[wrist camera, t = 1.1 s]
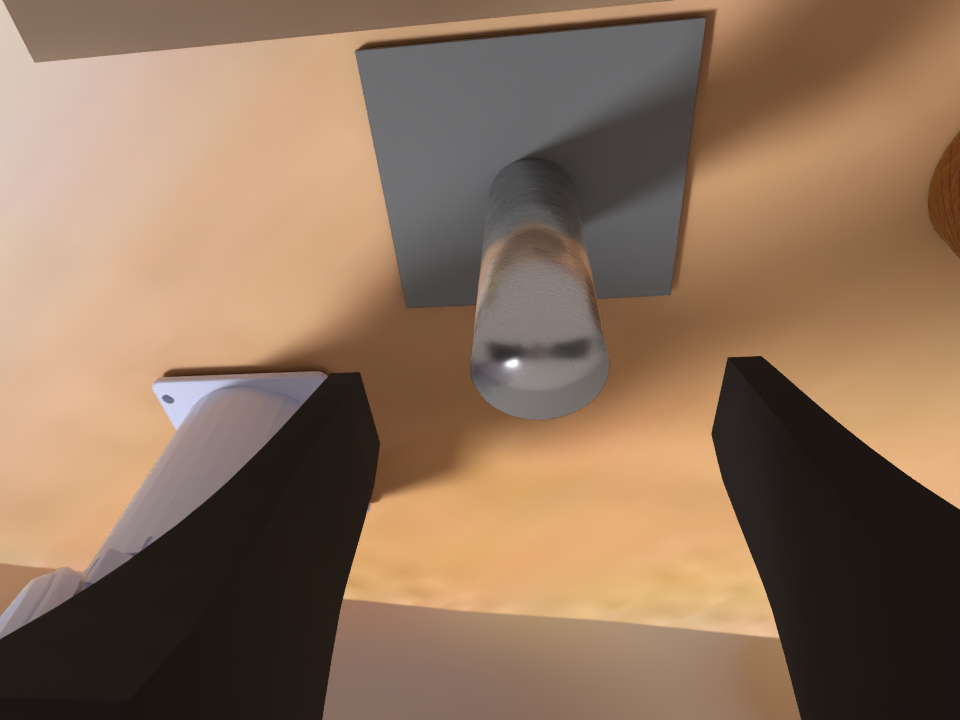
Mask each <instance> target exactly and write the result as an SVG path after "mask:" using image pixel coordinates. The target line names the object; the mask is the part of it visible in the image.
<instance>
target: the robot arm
mask: <svg viewBox="0 0 960 720" xmlns="http://www.w3.org/2000/svg"><path fill="white" fill-rule="evenodd" d="M152 388H153V391H154V393H155V394H156V396H157V398H158V400H159V401H160V403H161V405H162V406H163V408H164V410H165V412H166V413H167V415H168V417H169V418H170V420H171V422H172V424H173V425H174V427H175V429H176V430H177V431H176V432H175V434H174V435H173V437H172V438H171V440H170V442H169V443H168V445H167V446H166V448H165V449H164V451H163V452H162V454H161V455H160V457H159V459H158V460H157V462H156V463H155V465H154V466H153V468H152V469H151V471H150V473H149V474H148V476H147V477H146V479H145V480H144V482H143V483H142V485H141V486H140V488H139V490H138V491H137V493H136V494H135V496H134V497H133V499H132V500H131V502H130V503H129V505H128V507H127V508H126V510H125V511H124V513H123V514H122V516H121V517H120V519H119V520H118V522H117V524H116V525H115V527H114V528H113V530H112V531H111V533H110V534H109V536H108V537H107V539H106V541H105V542H104V544H103V545H102V547H101V548H100V550H99V551H98V553H97V555H96V556H95V558H94V559H93V561H92V562H91V564H90V565H89V567H88V568H87V569H86V570H85V571H84V572H83V573H82V574H80V573H78V572H76V571H75V570H73V569H71V568H69V567H62V568H59V569H58V570H56V571H55V572H54V573H48V574H45V575H42V576H39V577H36V578H34V579H32V580H31V581H30V582H29V583H28V585H26V587H25V588H24V589H23V590H22V591H21V592H20V594H19V595H18V596H17V597H16V598H15V599H14V601H13V602H12V603H11V604H10V606H9V607H8V608H7V609H6V611H5V612H4V613H3V614H2V616H1V617H0V720H322V717H323V711H324V704H325V697H326V691H327V685H328V678H329V672H330V665H331V659H332V653H333V648H334V642H335V636H336V631H337V625H338V619H339V614H340V609H341V604H342V600H343V596H344V592H345V588H346V584H347V580H348V577H349V573H350V570H351V566H352V563H353V559H354V556H355V552H356V549H357V545H358V542H359V538H360V535H361V531H362V528H363V524H364V521H365V517H366V513H368V512H369V510H370V506H371V503H370V499H371V495H372V491H373V488H374V482H375V475H376V469H377V462H378V454H379V447H380V441H379V438H378V434H377V431H376V427H375V424H374V420H373V417H372V413H371V410H370V406H369V403H368V399H367V396H366V392H365V389H364V385H363V382H362V378H361V375H360V372H354V373H331V374H330V375H329V376H327V375H326V374H325V373H322V372H319V371H307V372H281V373H256V374H231V375H205V376H180V377H161V378H158V379H157V380H156V381H155V382H154V384H153V386H152ZM168 395H169V396H168ZM170 396H171V397H170ZM712 438H713V443H714V447H715V451H716V456H717V460H718V464H719V468H720V472H721V476H722V479H723V482H724V485H725V488H726V490H727V493H728V496H729V498H730V501H731V503H732V506H733V509H734V511H735V514H736V516H737V519H738V522H739V524H740V527H741V529H742V532H743V534H744V537H745V539H746V542H747V544H748V547H749V549H750V552H751V555H752V557H753V560H754V562H755V565H756V567H757V570H758V572H759V575H760V577H761V580H762V582H763V585H764V588H765V591H766V594H767V597H768V600H769V602H770V605H771V608H772V612H773V615H774V619H775V622H776V626H777V630H778V633H779V637H780V640H781V644H782V648H783V651H784V655H785V658H786V662H787V666H788V670H789V674H790V677H791V681H792V685H793V689H794V693H795V697H796V701H797V705H798V709H799V712H800V716H801V720H960V509H958V508H956V507H955V506H953V505H952V504H950V503H949V502H947V501H946V500H944V499H943V498H941V497H939V496H938V495H936V494H935V493H933V492H932V491H930V490H929V489H927V488H926V487H924V486H923V485H921V484H920V483H918V482H917V481H915V480H914V479H912V478H911V477H910V476H908V475H907V474H905V473H904V472H902V471H901V470H900V469H898V468H897V467H896V466H894V465H893V464H892V463H890V462H889V461H888V460H886V459H885V458H884V457H882V456H881V455H880V454H878V453H877V452H875V451H874V450H873V449H871V448H870V447H869V446H868V445H866V444H865V443H864V442H862V441H861V440H860V439H859V438H857V437H856V436H855V435H853V434H852V433H851V432H850V431H849V430H847V429H846V428H845V427H844V426H842V425H841V424H840V423H839V422H837V421H836V420H835V419H834V418H833V417H831V416H830V415H829V414H828V413H827V412H825V411H824V410H823V409H822V408H821V407H820V406H818V405H817V404H816V403H815V402H814V401H813V400H811V399H810V398H809V397H808V396H807V395H806V394H804V393H803V392H802V391H801V390H800V389H799V388H798V387H796V386H795V385H794V384H793V383H792V382H791V381H790V380H788V379H787V378H786V377H785V376H784V375H783V374H782V373H780V372H779V371H778V370H777V369H776V368H775V367H774V366H772V365H771V364H770V363H769V362H768V361H767V360H765V359H764V358H763V357H762V356H753V357H728V359H727V364H726V368H725V373H724V378H723V382H722V387H721V392H720V396H719V401H718V406H717V410H716V415H715V420H714V424H713V429H712Z"/></svg>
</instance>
